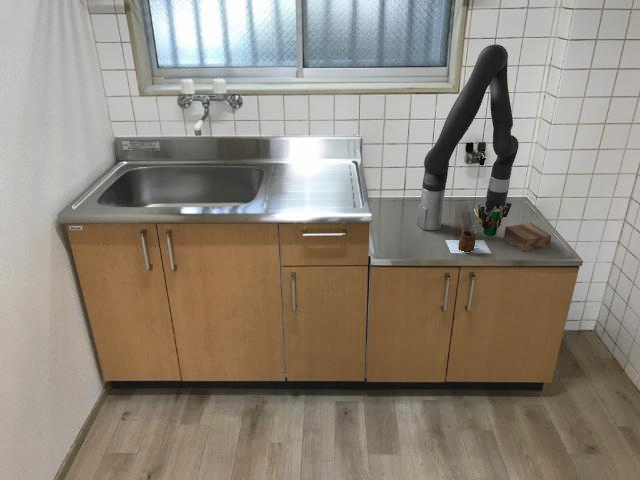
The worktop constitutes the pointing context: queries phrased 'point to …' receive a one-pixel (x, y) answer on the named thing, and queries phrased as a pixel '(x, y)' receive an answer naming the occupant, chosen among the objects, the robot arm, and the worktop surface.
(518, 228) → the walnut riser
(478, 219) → the grey flat gold-topped slab
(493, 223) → the soda can
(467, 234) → the utensil holder
